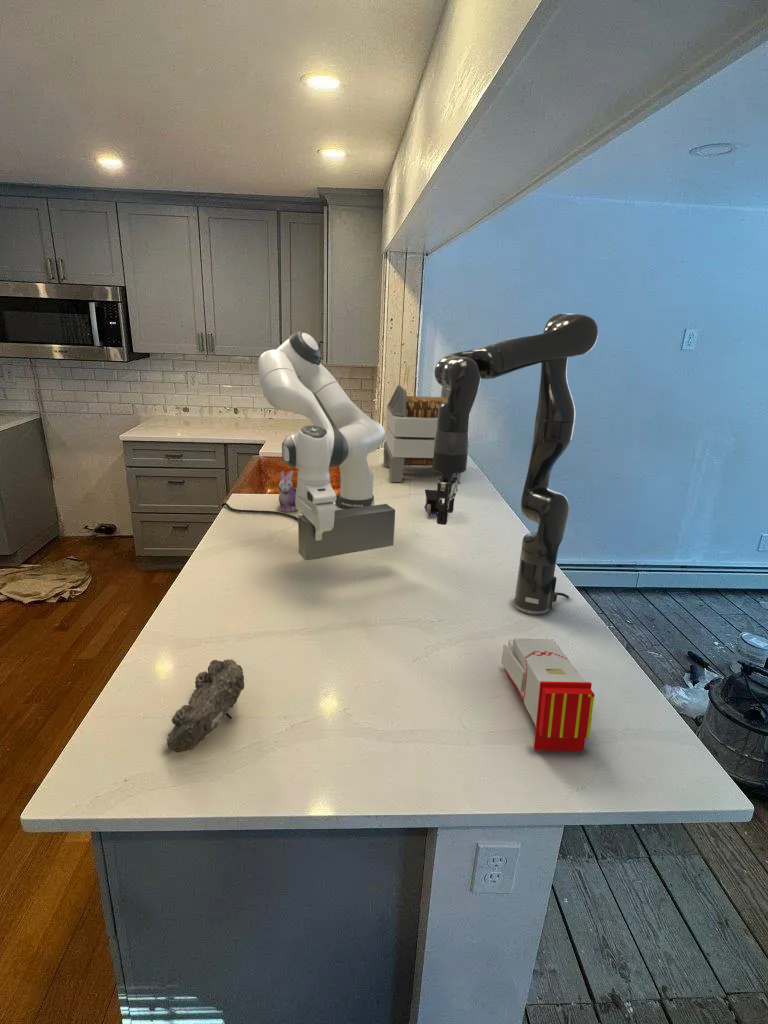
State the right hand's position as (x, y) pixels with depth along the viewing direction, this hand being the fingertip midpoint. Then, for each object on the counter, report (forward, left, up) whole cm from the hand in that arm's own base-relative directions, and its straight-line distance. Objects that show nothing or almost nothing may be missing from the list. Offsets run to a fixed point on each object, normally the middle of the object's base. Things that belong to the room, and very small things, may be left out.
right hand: (445, 517), depth 131 cm
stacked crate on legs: (-53, -132, -30) cm, 146 cm away
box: (+13, -35, -21) cm, 43 cm away
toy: (-8, +31, -30) cm, 44 cm away
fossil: (+55, +16, -30) cm, 64 cm away
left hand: (+23, -33, -15) cm, 43 cm away
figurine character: (-35, -79, -30) cm, 91 cm away
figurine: (+18, -96, -30) cm, 102 cm away
